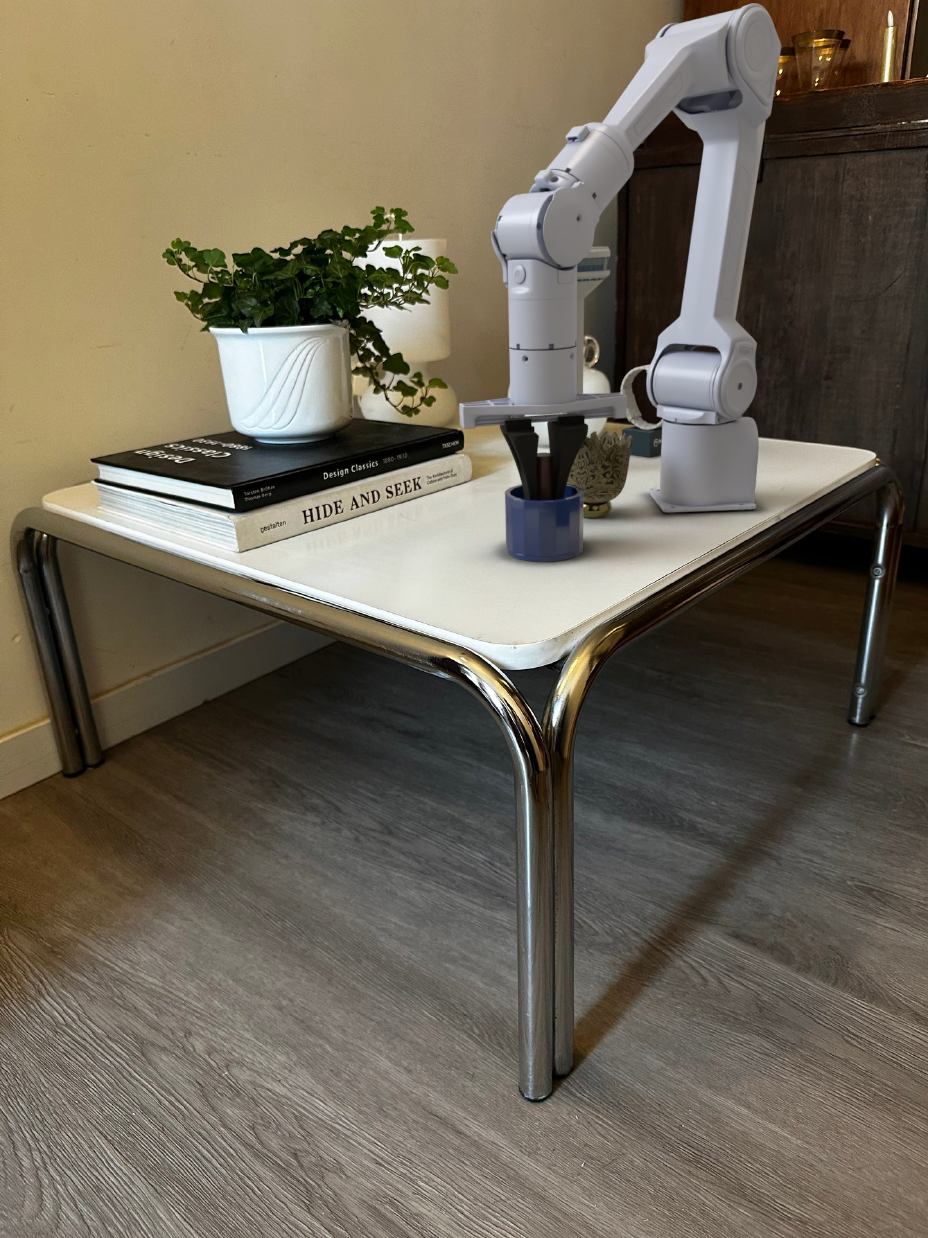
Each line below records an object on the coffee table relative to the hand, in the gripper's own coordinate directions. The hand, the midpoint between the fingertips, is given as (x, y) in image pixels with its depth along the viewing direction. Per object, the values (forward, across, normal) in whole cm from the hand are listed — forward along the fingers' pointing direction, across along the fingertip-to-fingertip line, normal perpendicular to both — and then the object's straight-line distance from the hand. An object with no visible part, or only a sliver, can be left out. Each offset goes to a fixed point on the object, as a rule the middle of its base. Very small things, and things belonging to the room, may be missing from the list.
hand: (543, 502), depth 84 cm
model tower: (+5, -11, -30) cm, 32 cm away
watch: (+5, -23, -37) cm, 44 cm away
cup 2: (+5, -8, -10) cm, 13 cm away
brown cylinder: (+3, 0, 0) cm, 3 cm away
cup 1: (+4, 0, 0) cm, 4 cm away
